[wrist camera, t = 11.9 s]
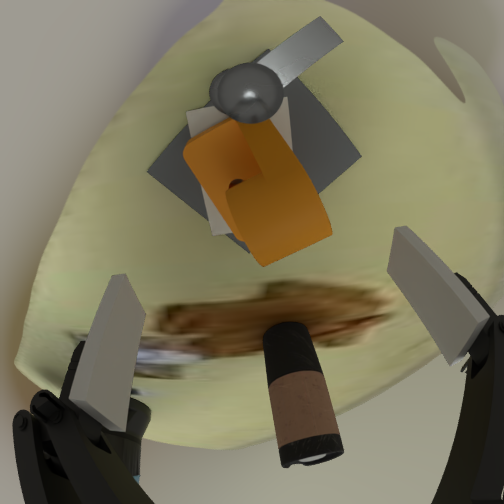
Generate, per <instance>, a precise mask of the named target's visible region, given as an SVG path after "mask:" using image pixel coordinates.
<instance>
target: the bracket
mask: <svg viewBox="0 0 504 504" xmlns="http://www.w3.org/2000/svg"><path fill="white" fill-rule="evenodd" d="M183 157H184V160H185V161H186V163H187V164H188V166H189V167H190V169H191V170H192V172H193V173H194V175H195V176H196V178H197V179H198V181H199V182H200V184H201V185H202V187H203V188H204V190H205V192H206V193H207V195H208V196H209V198H210V199H211V201H212V202H213V204H214V205H215V207H216V208H217V210H218V211H219V213H220V214H221V216H222V217H223V219H224V220H225V222H226V223H227V225H228V226H229V228H230V229H231V231H232V232H233V234H234V235H235V237H236V238H237V239H238V240H240V241H243V242H245V244H246V245H247V247H248V249H249V250H250V252H251V254H252V255H253V256H254V258H255V259H256V261H257V262H258V263H259V264H260V265H261V266H263V267H265V266H267V265H269V264H271V263H273V262H275V261H278V260H280V259H282V258H284V257H286V256H288V255H290V254H293V253H295V252H297V251H299V250H301V249H303V248H305V247H307V246H310V245H312V244H314V243H316V242H318V241H320V240H322V239H324V238H326V237H329V236H331V235H332V228H331V224H330V221H329V219H328V216H327V213H326V211H325V208H324V206H323V204H322V201H321V199H320V197H319V195H318V193H317V191H316V189H315V187H314V185H313V183H312V181H311V179H310V178H309V176H308V174H307V173H306V171H305V169H304V168H303V166H302V165H301V163H300V162H299V160H298V159H297V157H296V156H295V154H294V153H293V151H292V150H291V148H290V147H289V145H288V144H287V143H286V141H285V140H284V138H283V137H282V135H281V134H280V133H279V131H278V130H277V128H276V127H275V126H274V124H273V123H272V122H271V120H270V119H268V120H266V121H263V122H260V123H255V124H246V123H241V122H238V121H235V120H233V119H232V118H230V117H229V118H227V119H225V120H223V121H222V122H220V123H218V124H216V125H214V126H212V127H210V128H209V129H207V130H205V131H203V132H201V133H200V134H198V135H196V136H194V137H193V138H191V139H190V140H189V141H188V142H187V144H186V146H185V148H184V151H183ZM235 179H242V180H243V181H242V182H240V183H238V184H233V183H231V181H233V180H235Z"/></svg>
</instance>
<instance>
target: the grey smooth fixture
mask: <svg viewBox="0 0 504 504" xmlns="http://www.w3.org/2000/svg"><path fill="white" fill-rule="evenodd" d="M342 42H344V41H343V40H342V39H341V38H340V37H339V35H338V34H337V33H336V32H335V31H334V30H333V29H332V28H331V27H330V26H329V25H328V24H327V22H326V21H325V20H324V19H323V18H322V17H321V16H320V17H318V18H316V19H315V20H313V21H312V22H310V23H309V24H307V25H306V26H304V27H303V28H302V29H300V30H299V31H297V32H296V33H295V34H293V35H292V36H290V37H289V38H288V39H286V40H285V41H284V42H282V43H281V44H280V45H279V46H277V47H276V48H275V49H273V50H272V51H271V52H270V53H268V54H267V55H266V56H265V57H263V58H262V59H261V60H260V61H259V62H257V63H243V64H239V65H237V66H234V67H233V68H231V69H227V70H225V71H223V72H221V73H219V74H218V75H217V76H216V77H215V78H214V80H213V81H212V83H211V86H210V90H209V94H210V99H211V102H212V104H213V105H214V107H215V108H216V109H217V110H219V111H220V112H222V113H224V114H227V115H228V116H229V117H230V118H232V119H233V120H235V121H238V122H241V123H246V124H255V123H260V122H263V121H266V120H268V119H269V118H271V117H272V116H273V115H274V114H275V113H276V112H277V111H278V110H279V108H280V106H281V104H282V102H283V97H284V89H283V88H284V87H285V86H286V85H288V84H289V83H290V82H291V81H292V80H294V79H295V78H296V77H297V76H298V75H300V74H301V73H302V72H303V71H305V70H306V69H307V68H309V67H310V66H311V65H312V64H314V63H315V62H316V61H318V60H319V59H320V58H322V57H323V56H324V55H326V54H327V53H328V52H330V51H331V50H332V49H334V48H335V47H337V46H338V45H339V44H341V43H342Z"/></svg>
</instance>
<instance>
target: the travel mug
mask: <svg viewBox="0 0 504 504" xmlns="http://www.w3.org/2000/svg"><path fill="white" fill-rule="evenodd" d="M263 348H264V357H265V365H266V373H267V382H268V389H269V396H270V402H271V408H272V414H273V420H274V426H275V431H276V437H277V443H278V449H279V454H280V460H281V465H282V467H283V468H289V467H290V466H291V465H292V464H303V465H305V466H309V465H315V464H319V463H322V462H326V461H329V460H332V459H334V458H336V457H339V456H341V455H342V454H343V453H344V449H343V445H342V441H341V437H340V433H339V429H338V425H337V422H336V418H335V414H334V410H333V407H332V403H331V399H330V396H329V392H328V389H327V385H326V381H325V378H324V375H323V372H322V369H321V366H320V363H319V360H318V357H317V354H316V351H315V348H314V346H313V343H312V340H311V337H310V334H309V332H308V330H307V328H306V327H305V326H304V325H303V324H300V323H297V322H285V323H281V324H278V325H276V326H273V327H272V328H270V329H269V330H268V331H267V332H266V333H265V335H264V337H263Z"/></svg>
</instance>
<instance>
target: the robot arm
mask: <svg viewBox="0 0 504 504" xmlns="http://www.w3.org/2000/svg"><path fill="white" fill-rule="evenodd" d="M387 272H388V274H389V275H390V276H391V278H392V279H393V281H394V282H395V283H396V285H397V286H398V287H399V289H400V290H401V292H402V293H403V294H404V296H405V297H406V299H407V300H408V301H409V303H410V304H411V306H412V307H413V309H414V310H415V312H416V313H417V315H418V316H419V318H420V319H421V321H422V322H423V324H424V325H425V327H426V328H427V330H428V331H429V333H430V335H431V336H432V338H433V339H434V341H435V343H436V344H437V346H438V347H439V349H440V351H441V352H442V354H443V356H444V357H445V359H446V361H447V363H448V364H449V366H452V365H454V364H456V363H458V362H459V361H461V360H462V359H463V358H464V356H465V355H466V354H467V352H469V354H470V357H469V359H468V360H467V362H466V363H465V364H464V366H463V367H462V369H461V372H463V371H464V370H465V368H466V367H467V371H466V372H465V373H467V375H466V383H465V391H464V397H463V402H462V407H461V413H460V417H459V422H458V427H457V431H456V435H455V438H454V442H453V446H452V449H451V452H450V456H449V459H448V462H447V465H446V468H445V471H444V474H443V476H442V479H441V482H440V484H439V487H438V489H437V492H436V494H435V497H434V499H433V501H432V503H431V504H504V493H503V500H502V499H501V494H502V490H503V487H504V315H499V316H497V315H496V314H495V313H494V312H493V310H492V309H491V308H490V307H489V305H488V304H487V303H486V302H485V300H484V299H483V298H482V297H481V296H480V294H479V293H477V291H476V290H475V289H474V287H473V288H472V285H471V284H470V283H469V282H468V281H467V279H466V278H464V277H463V276H461V275H460V274H458V273H457V272H456V273H453V272H452V271H451V270H450V269H449V267H448V266H447V265H446V264H445V263H444V262H443V261H442V260H441V259H440V258H439V257H438V256H437V255H436V254H435V253H434V252H433V251H432V250H431V249H430V248H429V247H428V246H427V245H426V244H425V243H424V242H423V241H422V240H421V239H420V238H419V237H418V236H417V235H416V234H415V233H414V232H413V231H412V230H411V229H410V228H408V227H407V226H401V227H395V229H394V235H393V241H392V247H391V253H390V258H389V263H388V268H387ZM145 316H146V314H145V312H144V310H143V308H142V306H141V304H140V302H139V300H138V298H137V296H136V294H135V292H134V290H133V288H132V286H131V284H130V282H129V280H128V278H127V276H126V274H119V275H113V276H112V277H111V279H110V281H109V284H108V286H107V288H106V291H105V293H104V295H103V298H102V300H101V303H100V305H99V308H98V310H97V313H96V315H95V318H94V321H93V323H92V326H91V329H90V331H89V334H88V337H87V340H86V341H81V342H80V343H79V344H78V346H77V347H76V349H75V350H74V352H73V355H72V358H71V363H70V364H69V367H68V371H67V373H66V377H65V380H64V383H63V387H62V390H61V394H60V397H59V398H57V397H56V396H55V395H54V394H53V393H52V392H50V391H48V390H41V391H39V392H37V393H36V394H35V395H34V397H33V399H32V401H31V404H30V412H31V413H32V414H33V415H32V414H31V413H29V412H28V411H27V410H20V411H18V412H17V413H16V415H15V416H14V419H13V439H14V448H15V456H16V463H17V469H18V474H19V480H20V485H21V489H22V493H23V497H24V501H25V504H154V502H153V501H152V500H151V499H150V498H149V497H148V495H147V494H146V493H145V492H144V491H143V489H142V488H141V487H140V485H139V477H140V454H141V440H142V437H143V435H144V433H145V431H146V428H147V426H148V424H149V422H150V419H151V410H150V409H149V408H148V407H147V406H146V405H144V404H143V403H141V402H139V401H137V400H134V399H132V398H130V394H131V388H132V381H133V375H134V370H135V364H136V359H137V353H138V348H139V343H140V339H141V334H142V329H143V325H144V320H145Z"/></svg>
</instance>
